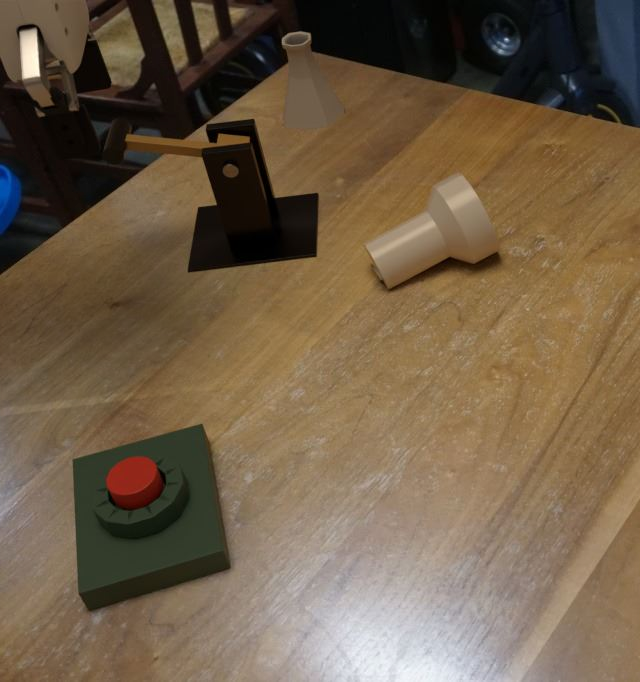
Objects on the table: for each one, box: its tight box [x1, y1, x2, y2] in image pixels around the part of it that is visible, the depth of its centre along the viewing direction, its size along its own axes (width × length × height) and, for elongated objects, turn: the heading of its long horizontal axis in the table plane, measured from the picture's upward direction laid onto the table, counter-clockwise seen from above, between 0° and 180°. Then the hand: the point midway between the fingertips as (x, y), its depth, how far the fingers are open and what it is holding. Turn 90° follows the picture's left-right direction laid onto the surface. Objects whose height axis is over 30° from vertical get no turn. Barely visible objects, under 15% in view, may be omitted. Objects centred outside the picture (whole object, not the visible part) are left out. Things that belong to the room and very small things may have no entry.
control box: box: [72, 423, 232, 612], centre depth 81 cm, size 13×10×4 cm
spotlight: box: [362, 172, 501, 290], centre depth 100 cm, size 8×11×8 cm
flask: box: [281, 30, 345, 132], centre depth 119 cm, size 7×7×10 cm
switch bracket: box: [187, 118, 320, 273], centre depth 103 cm, size 12×10×12 cm
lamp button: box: [106, 456, 163, 510], centre depth 79 cm, size 4×4×2 cm
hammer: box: [101, 117, 250, 166], centre depth 99 cm, size 12×5×2 cm, turn 96°
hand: (86, 121), depth 85 cm, fingers open, 9 cm apart
